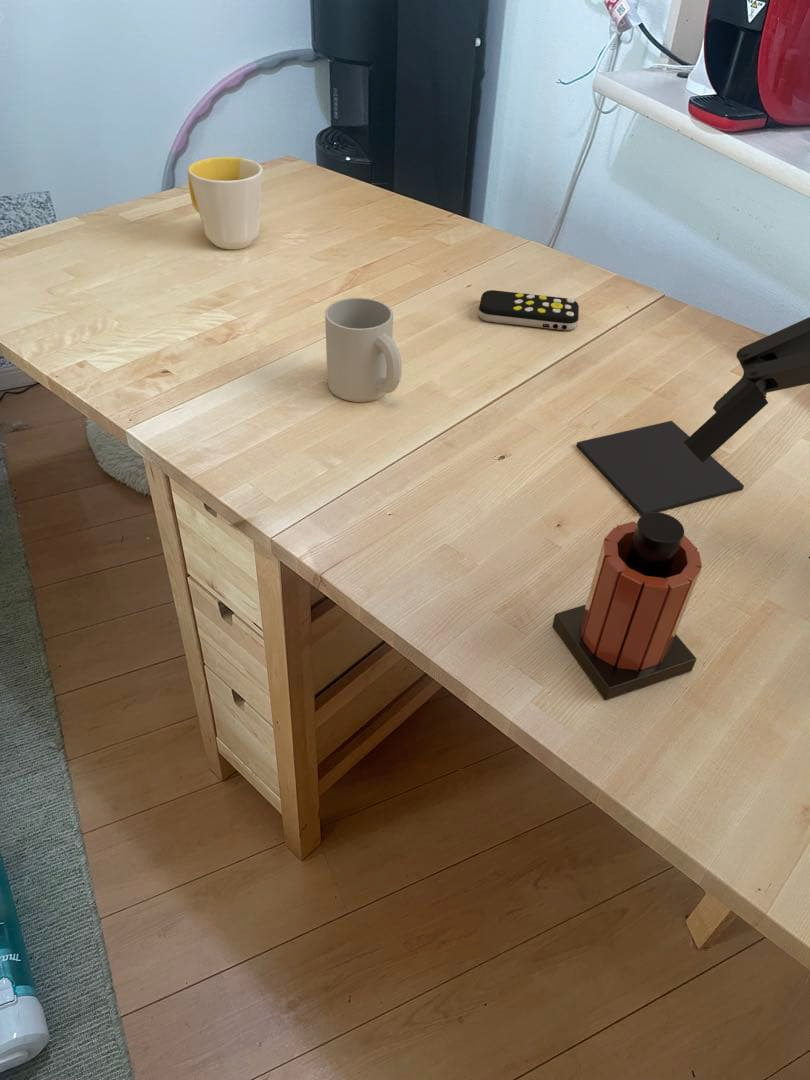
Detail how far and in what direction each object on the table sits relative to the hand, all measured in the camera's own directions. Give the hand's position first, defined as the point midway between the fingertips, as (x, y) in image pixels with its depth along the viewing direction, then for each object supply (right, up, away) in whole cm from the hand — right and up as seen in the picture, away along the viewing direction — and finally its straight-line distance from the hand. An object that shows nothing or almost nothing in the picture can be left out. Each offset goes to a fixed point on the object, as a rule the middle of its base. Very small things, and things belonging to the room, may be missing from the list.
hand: (750, 506), depth 59 cm
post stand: (-8, -11, +6) cm, 15 cm away
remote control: (-9, +27, +47) cm, 55 cm away
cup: (-29, +14, +33) cm, 46 cm away
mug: (-51, +42, +62) cm, 91 cm away
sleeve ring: (-8, -10, +5) cm, 14 cm away
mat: (+1, +5, +24) cm, 24 cm away
